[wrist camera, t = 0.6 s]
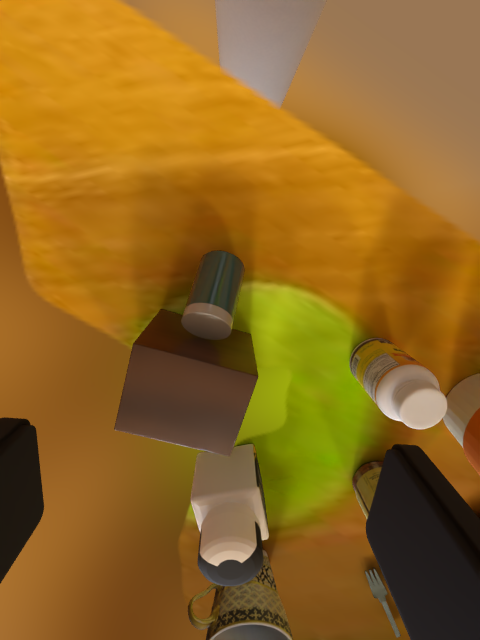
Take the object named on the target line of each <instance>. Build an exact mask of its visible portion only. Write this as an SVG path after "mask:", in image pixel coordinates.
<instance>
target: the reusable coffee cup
mask: <svg viewBox="0 0 480 640" xmlns="http://www.w3.org/2000/svg"><path fill="white" fill-rule="evenodd" d="M446 400H447V410H446V413H445V415H444V417H443V420H444V423H445V425H446V426H447V428H448V429H449V430H450V432H451V433H452V434H453V435H454V437H455V438H456V439H457V440H458V442H459V443H460V444H461V446H462V447H463V449H464V453H465V455H466V457H467V459H468V461H469V462H470V464H471V465H472V466H473V467H474V469H475V470H476V471H477V473H478V474H479V475H480V373H478V374H475V375H472V376H469V377H467V378H466V379H464V380H462V381H461V382H459V383H458V384H457V385H456V386H455V387H454V388H453V389H452V390H451V391H450V392H449V394H448V395H447V397H446Z"/></svg>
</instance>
